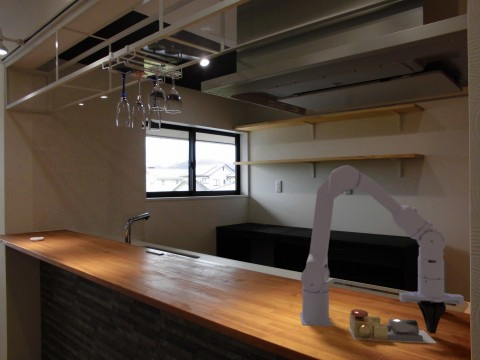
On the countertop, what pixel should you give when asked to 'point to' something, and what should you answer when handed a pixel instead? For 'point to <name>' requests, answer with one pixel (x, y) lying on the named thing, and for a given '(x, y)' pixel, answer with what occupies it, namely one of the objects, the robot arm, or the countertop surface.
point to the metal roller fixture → (404, 337)
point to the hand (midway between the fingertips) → (431, 332)
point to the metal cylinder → (403, 326)
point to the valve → (367, 326)
